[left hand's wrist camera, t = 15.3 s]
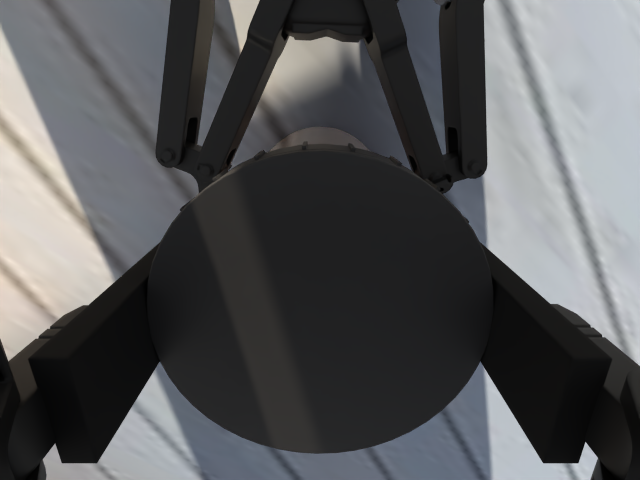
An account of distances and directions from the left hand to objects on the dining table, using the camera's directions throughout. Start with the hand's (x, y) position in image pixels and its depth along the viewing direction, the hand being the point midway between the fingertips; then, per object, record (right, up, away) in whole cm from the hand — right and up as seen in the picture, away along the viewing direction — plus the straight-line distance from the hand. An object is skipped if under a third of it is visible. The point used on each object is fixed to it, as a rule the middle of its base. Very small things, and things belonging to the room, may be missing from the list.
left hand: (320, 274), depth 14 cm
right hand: (0, -2, +8) cm, 9 cm away
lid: (0, -1, -3) cm, 3 cm away
